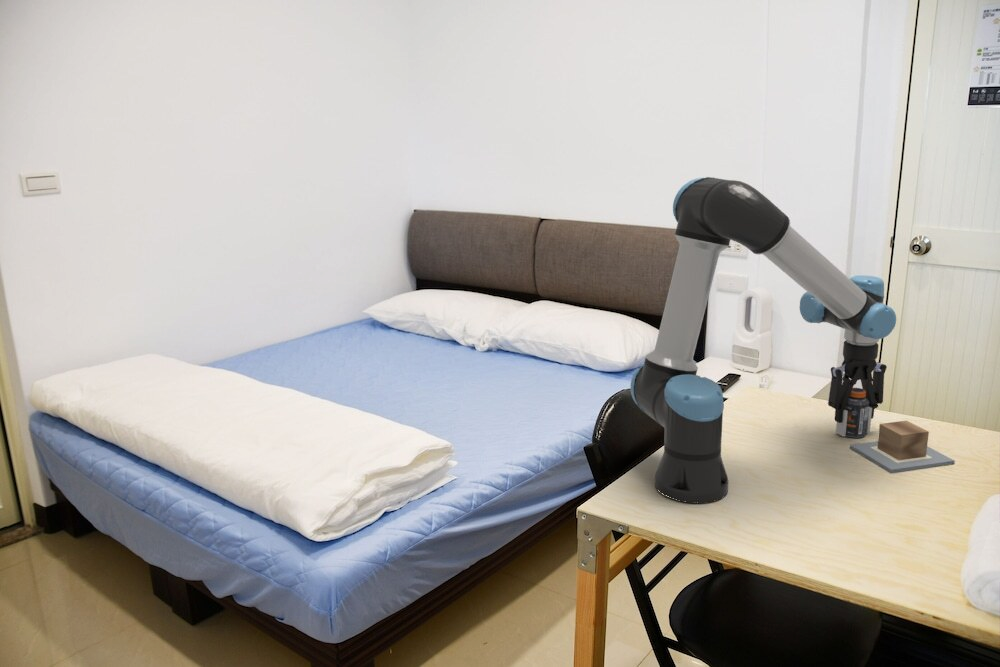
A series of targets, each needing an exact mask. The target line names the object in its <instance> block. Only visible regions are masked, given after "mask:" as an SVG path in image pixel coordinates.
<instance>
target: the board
mask: <svg viewBox="0 0 1000 667" xmlns="http://www.w3.org/2000/svg"><path fill="white" fill-rule="evenodd" d="M849 449H851V450H852V451H853V452H856V453H857V454H858V455H860V456H862V457H864V458H866V459H867V460H869V461H870V462H872V463H874V464H875V465H877V466H879V467H880V468H882V469H884V471H887V472H888V473H890V474H893V473H894V474H895V473H901V472H907V471H908V472H909V471H914V470H922V469H928V468H935V467H936V466H937V467H943V466H942V465H944V466H949V464H951V465H955V460H954V459H952V458H950V457H949V456H947V455H945V454H943V453H941V452H939V451H937V450H936V449H934V448H931V447H929V446H928V445H927V452H926V457H919V458H912V459H905V460H897V459H895V458H894V457H892V456H890V455H888V454H887V453H885V452H883V451H881V450H880V449H878V440H876V441H871V442H861V443H855V444H853V443H852V444H849Z"/></svg>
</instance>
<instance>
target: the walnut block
mask: <svg viewBox="0 0 1000 667" xmlns="http://www.w3.org/2000/svg"><path fill="white" fill-rule="evenodd" d="M878 430H879V431H878V438H877V441H878V449H880V450H881V451H883V452H885V453H887V454H888V455H890V456H892V457H894V458H895V459H897V460H905V459H912V458H919V457H926V452H927V446H928V442H929V433H930V432H929V430H927V429H924V428H923V427H920V426H918V425H916V424H914V423H912V422H910V421H908V420H901V421H892V422H884V423H880V424H879V429H878Z"/></svg>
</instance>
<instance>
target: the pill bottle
mask: <svg viewBox="0 0 1000 667" xmlns="http://www.w3.org/2000/svg"><path fill="white" fill-rule="evenodd" d="M865 396H866V391H865V390H864V389H862V388H861V387H853V389H852V391H851V394H850V397H849V399H848V402H847V405H846V407H845V410H847V411H848V414H847V425H846V436H845V437H849V438H855V439H856V438H863V437H865V436H866V435H867V433H866V429H867V420H868V410H869V401H868V399H866V398H865Z"/></svg>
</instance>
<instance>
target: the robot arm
mask: <svg viewBox="0 0 1000 667" xmlns="http://www.w3.org/2000/svg"><path fill="white" fill-rule="evenodd" d="M672 212H673V213H672V214H673V217H674V218H675V221H676V222H677V224H676V229H675V233H674V237H675V238H676V240H677V242H678V244H679V248H678V251H677V254H676V259H675V263H674V267H673V272H672V275H671V276H672V277H671V282H670V284H669V289H668V293H667V297H666V301H665V304H664V310H663V314H662V317H661V322H660V325H659V329H658V330H659V331H658V334H657V339H656V343H655V346H654V349H653V351H650V352H649V353H647V354H646V355H645V359H644V363H643V364H641V366H640V367H638V368H636V370H635V371H634V373H633V375H632V377H631V381H630V394H631V396H632V400H633V402H634V403H635V404H636V405H637V407H638V408H639V409H640V410H641V412H642V413H644V415H646V416H648V417H650V418H651V419H653V420H654V421H655V422H656V423H657V424H659V425H660V426H662V427H663V428H664V438H663V439H664V441H663V442H664V443H663V445H664V446H663V453H662V456H661V459H660V461H659V464H658V466H657V470H656V472H655V476H654V487H655V486H656V487H655V489H656V488H657V489H658V490H659V491H660V492H661V493H663V494H664V495H667V496H669V497H671V498H674V499H677V500H680V501H686V502H696V503H695V504H704V503H703V502H708V503H711V502H710V501H713V502H715V501H714V500H717V499H719V500H721V499H723V498H724V497H726V495H727V494H728V492H729V477H728V474H727V471H726V468H725V465H724V462H723V458H722V434H723V433H722V432H723V417H724V416H723V415H724V414H723V413H724V409H725V408H724V407H725V406H724V405H725V403H724V393H723V390H722V387H721V386H720V385H719V384H718V383H717V382H716V381H715V380H713V379H710V378H708V377H706V376H704V377H702V376H700V375H697V373H698V366H697V364H696V362H695V360H694V356H695V352H696V349H697V344H698V340H699V336H700V332H701V329H702V323H703V321H704V315H705V312H706V309H707V304H708V299H709V296H710V292H711V288H712V284H713V281H714V276H715V272H716V268H717V265H718V261H719V257H720V254H721V253H722V251H725V250H726V249H728V248H729V247H730V243H731V241H734V243H738V244H740V245H742V246H743V247H745V248H747V249H748V250H749V251H750V252H752V253H753V254H755V255H763V256H764V257H766V258H767V259H768V260H769V261H770V262H772V263H773V264H774V265H775V266H776V267H778V268H779V269H780V270H781V271H782V272H783V273H784V274H786V275H787V276H788V277H790V279H791V280H793V281H794V282H795V283H796V284H797V285H799V286H800V287H801V288H802V289H803V290H805V291H806V292H804V293H803V294H802V296H801V297H800V300H799V313H800V315H801V317H802V319H803V320H804V321H805V322H806V323H810V324H820V323H828V324H830V325H833V326H836V327H839V328H840V329H841V328H842V329H844V335H843V339H845V340H844V341H843V346H842V356H843V360H842V363H841V365H840V366H838V367H835V366H832V367H831V368H830V373H831V374H830V375H831V381H830V388H829V394H828V395H829V396H828V401H827V405H828V406H829V407H831V408H832V409H834V410H835V411H834V421H835V422H836V426H835V433H836V434H837V435H840V436H842V437H847V436H846V425H847V414H848V411H847V410H845V407H846V405H847V402H848V399H849V397H850V394H851V391H852V389H853V388H854V386H855V385H856V384H857V381H860V383H861V387H862V388H861V389H864V390H865V391H866V396H865V398H866V399H868V401H869V410H868V420H867V429H866V434H871V425H872V424H871V422H872V419H874V417H875V416H874V414H875V409H877V408H879V404H880V405H881V404H883V402H884V387H885V386H884V384H885V373H886V370H887V366H888V365H886V364H884V363H881V362H880V361H877V358H878V355H879V354H878V353H879V344H878V342H879V341H880V340H882V339H884V338H886V337H888V336H889V335H890V334H891V333H892V331H894V329H895V327H896V324H897V314H896V312H895V310H894V309H893V308H892V307H890V306H889V305H887V304H885V303H884V300H885V299H884V298H885V282H884V280H883V279H882V278H880V277H879V276H874V275H873V276H872V275H854V276H851V277H850V278H849V277H848V276H847V275H846V274H845V273H844V272H842V271H841V270H840V269H839V268H838V267H837V266H836V265H834V264H833V263H832V262H831V261H830V260H829V259H828V258H827V257H826V256H825V255H823V254H822V253H821V252H820V251H819V250H818V249H816V247H814V246H813V244H811V242H809V241H808V240H806V239H805V238H804V237H803V236H802V235H801V234H800V233H799V232H798V231H797V230H795V229H794V228H793V227H792V226H791V219H790V217H788V215H787V214H786V213H784V212H783V211H782V210H781V209H780V208H779V207H778V206H776V205H775V204H774V203H773V202H772V201H771V200H770V199H769V198H768V197H766V196H765V194H763V193H761V191H759V190H758V189H756V188H755V187H754V186H751V185H750V184H748V183H746V182H743V181H740V180H733V179H732V180H731V179H722V178H716V177H714V176H713V177H711V176H710V177H709V176H707V177H699V178H698V177H697V178H694V179H691V180H689V181H687V183H685V184H684V185H682V186H681V187H680V189H679V190H678V191H677V193H676V194H675V196H674V199H673V203H672ZM657 489H656V490H657ZM658 490H657V491H658ZM661 493H660V494H661ZM664 495H663V496H664ZM723 496H724V497H723ZM722 497H723V498H722ZM720 498H721V499H720ZM680 501H679V502H680ZM717 501H718V500H717ZM686 502H685V503H686ZM697 502H698V503H697ZM701 502H702V503H701Z"/></svg>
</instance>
